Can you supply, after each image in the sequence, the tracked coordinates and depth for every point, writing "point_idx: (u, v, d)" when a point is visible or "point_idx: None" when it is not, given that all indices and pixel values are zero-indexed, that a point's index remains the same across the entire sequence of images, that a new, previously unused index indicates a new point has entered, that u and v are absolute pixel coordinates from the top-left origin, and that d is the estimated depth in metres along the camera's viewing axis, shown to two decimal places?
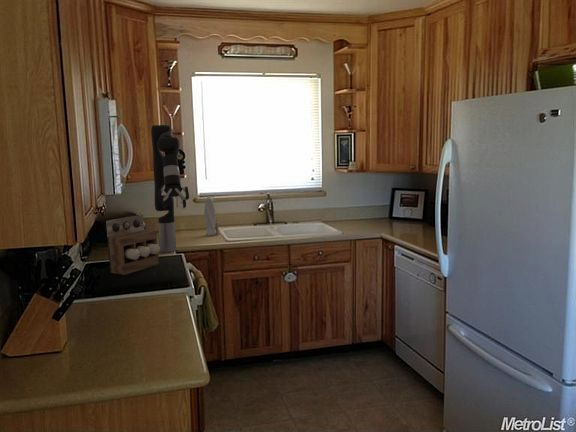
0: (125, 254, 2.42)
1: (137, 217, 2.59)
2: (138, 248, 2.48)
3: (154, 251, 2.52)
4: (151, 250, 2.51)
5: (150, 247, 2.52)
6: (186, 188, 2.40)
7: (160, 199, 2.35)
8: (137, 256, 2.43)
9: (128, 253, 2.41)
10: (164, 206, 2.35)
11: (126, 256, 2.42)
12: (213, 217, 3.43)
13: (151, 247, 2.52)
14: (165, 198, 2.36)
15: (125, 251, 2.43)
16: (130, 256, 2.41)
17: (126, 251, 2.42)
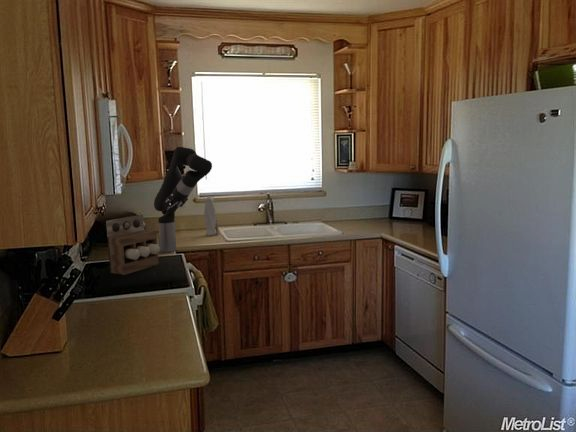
0: (125, 254, 2.42)
1: (137, 217, 2.59)
2: (138, 248, 2.48)
3: (154, 251, 2.52)
4: (151, 250, 2.51)
5: (150, 247, 2.52)
6: (186, 200, 2.49)
7: (165, 209, 2.42)
8: (137, 256, 2.43)
9: (128, 253, 2.41)
10: (164, 212, 2.45)
11: (126, 256, 2.42)
12: (213, 217, 3.43)
13: (151, 247, 2.52)
14: (169, 208, 2.44)
15: (125, 251, 2.43)
16: (130, 256, 2.41)
17: (126, 251, 2.42)
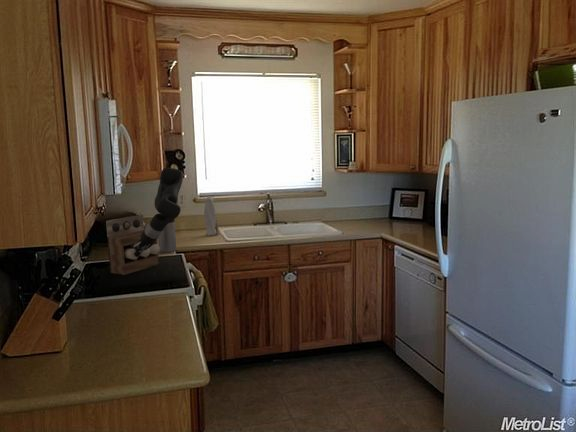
0: (124, 254, 2.43)
1: (137, 217, 2.59)
2: None
3: (154, 251, 2.52)
4: (151, 250, 2.51)
5: (150, 247, 2.52)
6: (153, 244, 2.42)
7: (137, 252, 2.38)
8: None
9: (127, 253, 2.41)
10: (136, 255, 2.41)
11: (125, 256, 2.43)
12: (213, 217, 3.43)
13: (151, 247, 2.52)
14: (140, 250, 2.39)
15: (124, 251, 2.43)
16: (129, 256, 2.41)
17: (125, 251, 2.43)
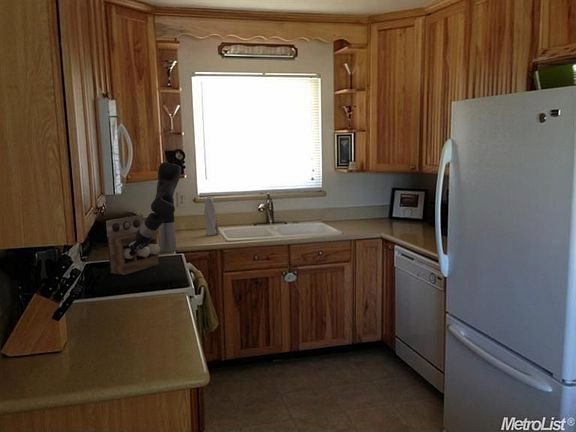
0: None
1: (137, 217, 2.59)
2: None
3: (154, 251, 2.52)
4: (151, 250, 2.51)
5: (150, 247, 2.52)
6: (148, 243, 2.44)
7: (132, 251, 2.39)
8: None
9: None
10: (131, 254, 2.42)
11: None
12: (213, 217, 3.43)
13: (151, 247, 2.52)
14: (136, 249, 2.41)
15: None
16: (124, 255, 2.43)
17: None
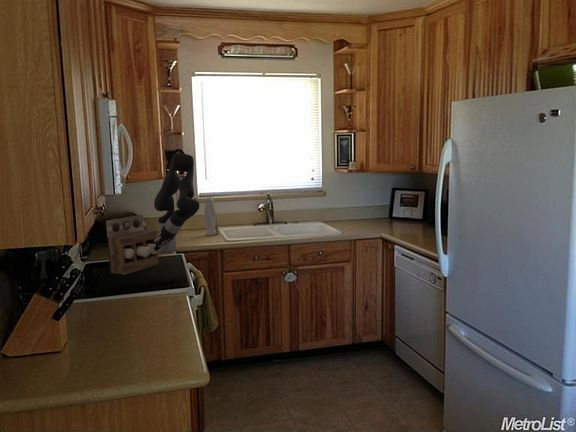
0: None
1: (137, 217, 2.59)
2: (138, 248, 2.48)
3: (153, 251, 2.53)
4: (150, 250, 2.52)
5: (149, 247, 2.52)
6: (172, 239, 2.54)
7: (157, 246, 2.49)
8: (131, 255, 2.45)
9: None
10: (156, 249, 2.52)
11: None
12: (213, 217, 3.43)
13: (150, 247, 2.52)
14: (160, 245, 2.50)
15: None
16: (124, 255, 2.43)
17: None
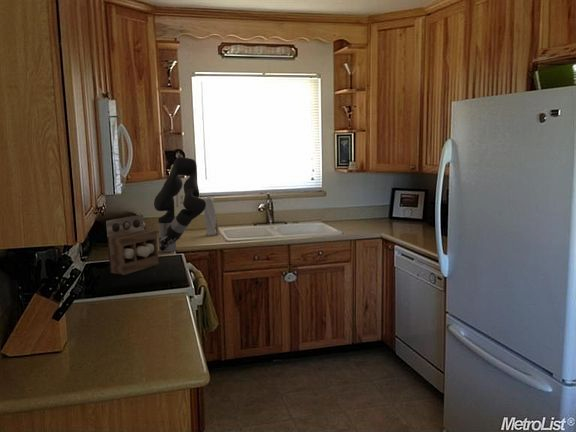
0: None
1: (137, 217, 2.59)
2: (138, 248, 2.48)
3: None
4: None
5: None
6: (178, 238, 2.51)
7: (163, 246, 2.46)
8: (131, 255, 2.45)
9: None
10: (162, 249, 2.49)
11: None
12: (213, 217, 3.43)
13: None
14: (166, 244, 2.48)
15: None
16: (124, 255, 2.43)
17: None
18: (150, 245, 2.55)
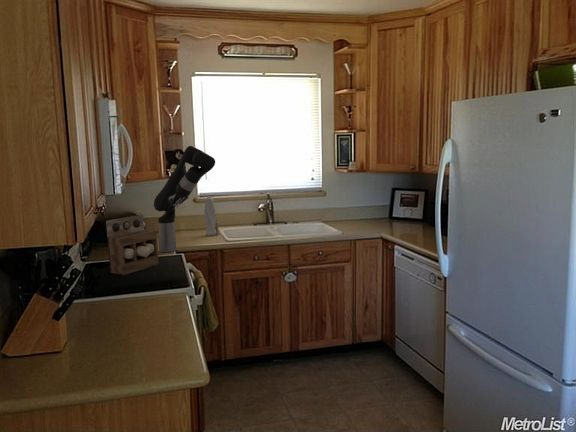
0: None
1: (137, 217, 2.59)
2: (138, 248, 2.48)
3: None
4: None
5: None
6: (186, 198, 2.51)
7: (172, 205, 2.46)
8: (131, 255, 2.45)
9: None
10: (170, 208, 2.49)
11: None
12: (213, 217, 3.43)
13: None
14: (175, 204, 2.47)
15: None
16: (124, 255, 2.43)
17: None
18: (150, 245, 2.55)
